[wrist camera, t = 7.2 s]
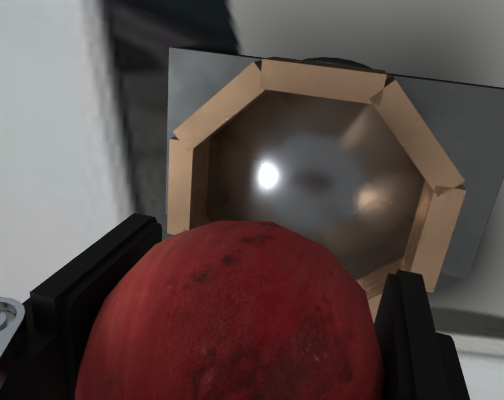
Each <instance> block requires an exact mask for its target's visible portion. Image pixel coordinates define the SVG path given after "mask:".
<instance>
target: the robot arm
mask: <svg viewBox="0 0 504 400" xmlns="http://www.w3.org/2000/svg"><path fill="white" fill-rule="evenodd" d="M160 242H162V226H161V224H160V223H157V220H156V218H155V217H152V216H147V215H142V214H138V213H134V214H132V215H131V216H129V217H128V218H127V219H126V220H124V221H123V222H122V223H120V224H119V225H118V226H116V227H115V228H114V229H112V230H111V231H110V232H108V233H107V234H106V235H104V236H103V237H102V238H101V239H99V240H98V241H97V242H95V243H94V244H93V245H91V246H90V247H89V248H87V249H86V250H85V251H83V252H82V253H81V254H79V255H78V256H77V257H76V258H74V259H73V260H72V261H70V262H69V263H68V264H66V265H65V266H64V267H62V268H61V269H60V270H58V271H57V272H56V273H54V274H53V275H52V276H51V277H49V278H48V279H47V280H45V281H44V282H43V283H41V284H40V285H39V286H37V287H36V288H35V289H33V290H32V291H31V292H30V298H29V299H27V300H26V301H25V302H24V303H22V304H21V303H20V302H19V301H17V300H14V299H12V298H5V297H0V400H75V391H76V384H77V378H78V371H79V366H80V363H81V360H82V357H83V354H84V351H85V348H86V345H87V342H88V339H89V335H90V332H91V329H92V326H93V324H94V322H95V320H96V317H97V315H98V313H99V311H100V309H101V307H102V304H103V302H104V300H105V299H106V297H107V296H108V295H109V294H110V292H111V291H112V290H113V289H114V287H115V286H116V285H117V284H118V282H119V281H120V280H121V279H122V277H123V276H124V275H125V274H126V273H127V272H128V271H129V270H130V269H131V268H132V267H133V266H134V265H135V264H136V263H137V262H138V261H139V260H140V259H141V258H142V257H143V256H144V255H145V254H146V253H147V252H148V251H149V250H150V249H151V248H152V247H153V246H154V245H155V244H157V243H160ZM374 327H375V331H376V335H377V339H378V343H379V347H380V351H381V355H382V359H383V363H384V367H385V371H386V374H385V383H384V392H383V400H470V397H469V394H468V390H467V387H466V383H465V380H464V376H463V373H462V369H461V366H460V362H459V358H458V355H457V351H456V348H455V344H454V341H453V339H452V337H451V336H449V335H445V334H441V333H437V332H435V327H434V323H433V318H432V314H431V310H430V305H429V301H428V297H427V292H426V288H425V284H424V279H423V276H422V274H418V273H414V272H409V271H404V270H400V269H398V270H397V272H396V275H395V274H391V273H388V275H387V278H386V281H385V285H384V289H383V292H382V296H381V300H380V303H379V307H378V311H377V314H376V318H375V322H374Z"/></svg>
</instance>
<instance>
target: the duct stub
mask: <svg viewBox="0 0 504 400" xmlns="http://www.w3.org/2000/svg"><path fill="white" fill-rule="evenodd" d="M503 178H504V88H500V87H492V86H484V85H477V84H468V83H461V82H453V81H445V80H436V79H429V78H421V77H413V76H404V75H397V74H389V73H386V72H385V71H384V70H377V69H372V68H370V67H368V66H366V65H363V64H360V63H357V62H354V61H351V60H345V59H340V58H329V57H319V58H308V59H304V60H296V59H288V58H279V57H270V58H261V57H253V56H245V55H237V54H229V53H221V52H213V51H205V50H197V49H189V48H181V47H170V48H169V82H168V126H167V171H166V215H168V222H167V233H169V234H173V235H176V234H179V233H182V232H185V231H188V230H191V229H194V228H197V227H200V226H203V225H206V224H209V223H212V222H215V221H219V220H232V221H268V222H274V223H276V224H278V225H280V226H283V227H285V228H287V229H289V230H291V231H293V232H296V233H298V234H300V235H302V236H304V237H306V238H309V239H311V240H313V241H315V242H317V243H319V244H321V245H323V246H325V247H326V248H327V249H328V250H329V251H330V252H331V253H332V255H333V256H334V257H335V258H336V259H337V260H338V261H339V262H340V263H341V265H342V266H343V267H344V268H345V269H346V270H347V271H348V272H349V274H350V275H351V276H352V277H353V278H354V279H355V280H356V281H357V283H358V284H359V285H360V286H361V287H362V288H363V289H364V290H365V292H366V295H367V299H368V303H369V307H370V311H371V315H372V319H373V323H374V322H375V318H376V314H377V311H378V307H379V303H380V300H381V296H382V292H383V289H384V285H385V281H386V278H387V275H388V273H391V274H395V275H396V272H397V270H398V269H400V270H404V271H409V272H414V273H418V274H422V276H423V279H424V284H425V288H426V291H428V292H432V293H433V292H434V288H435V285H436V282H437V279H438V276H439V273H442V274H447V275H451V276H456V277H461V278H466V279H467V278H468V275H469V273H470V270H471V267H472V265H473V262H474V259H475V256H476V253H477V251H478V248H479V245H480V242H481V240H482V237H483V234H484V231H485V228H486V226H487V223H488V220H489V217H490V215H491V212H492V209H493V206H494V203H495V201H496V198H497V195H498V192H499V189H500V187H501V183H502V181H503Z"/></svg>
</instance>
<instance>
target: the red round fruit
mask: <svg viewBox="0 0 504 400" xmlns="http://www.w3.org/2000/svg"><path fill="white" fill-rule="evenodd" d="M385 374H386V371H385V367H384V363H383V359H382V355H381V351H380V347H379V343H378V339H377V335H376V331H375V327H374V323H373V319H372V315H371V311H370V307H369V303H368V299H367V295H366V292H365V290H364V289H363V288H362V287H361V286H360V285H359V284H358V283H357V281H356V280H355V279H354V278H353V277H352V276H351V275H350V274H349V272H348V271H347V270H346V269H345V268H344V267H343V266H342V265H341V263H340V262H339V261H338V260H337V259H336V258H335V257H334V256H333V255H332V253H331V252H330V251H329V250H328V249H327V248H326V247H325V246H323V245H321V244H319V243H317V242H315V241H313V240H311V239H309V238H306V237H304V236H302V235H300V234H298V233H296V232H293V231H291V230H289V229H287V228H285V227H283V226H280V225H278V224H276V223H274V222H268V221H232V220H219V221H215V222H212V223H209V224H206V225H203V226H200V227H197V228H194V229H191V230H188V231H185V232H182V233H179V234H176V235H174V236H172V237H170V238H168V239H166V240H164V241H162V242H160V243H157V244H155V245H154V246H153V247H152V248H151V249H150V250H149V251H148V252H147V253H146V254H145V255H144V256H143V257H142V258H141V259H140V260H139V261H138V262H137V263H136V264H135V265H134V266H133V267H132V268H131V269H130V270H129V271H128V272H127V273H126V274H125V275H124V276H123V277H122V279H121V280H120V281H119V282H118V284H117V285H116V286H115V287H114V289H113V290H112V291H111V292H110V294H109V295H108V296H107V297H106V299H105V300H104V302H103V304H102V307H101V309H100V311H99V313H98V315H97V317H96V320H95V322H94V324H93V326H92V329H91V332H90V335H89V339H88V342H87V345H86V348H85V351H84V354H83V357H82V360H81V363H80V366H79V371H78V378H77V384H76V391H75V400H383V392H384V383H385Z"/></svg>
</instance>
